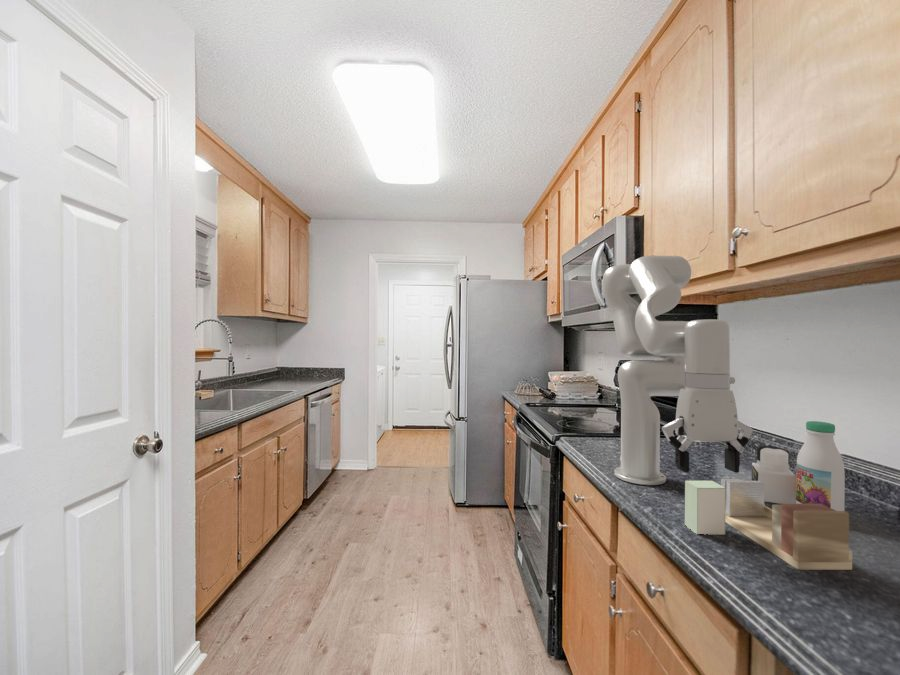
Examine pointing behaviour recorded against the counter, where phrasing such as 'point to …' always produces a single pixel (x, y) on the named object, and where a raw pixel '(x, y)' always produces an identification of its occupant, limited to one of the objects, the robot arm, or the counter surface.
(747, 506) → the bookend
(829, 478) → the milk bottle
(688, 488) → the pale green block
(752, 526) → the panel
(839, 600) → the counter surface
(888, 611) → the counter surface
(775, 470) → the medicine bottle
